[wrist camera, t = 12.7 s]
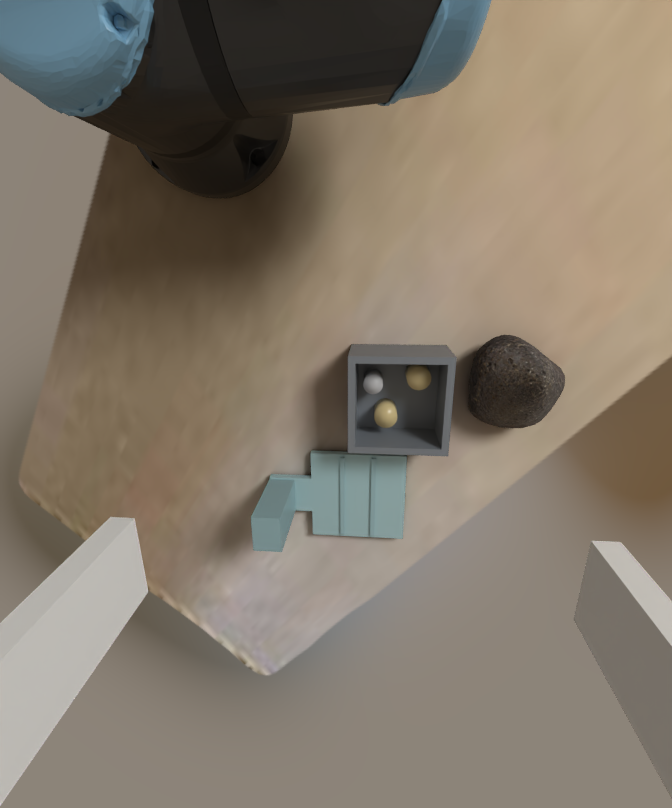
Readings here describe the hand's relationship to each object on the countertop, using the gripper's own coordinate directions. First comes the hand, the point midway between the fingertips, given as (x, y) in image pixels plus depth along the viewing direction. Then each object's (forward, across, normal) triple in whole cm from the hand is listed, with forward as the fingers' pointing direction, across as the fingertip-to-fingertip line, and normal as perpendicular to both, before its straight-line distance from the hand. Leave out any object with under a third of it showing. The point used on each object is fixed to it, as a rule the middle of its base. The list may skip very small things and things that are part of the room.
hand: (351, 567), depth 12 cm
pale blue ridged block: (+34, -4, -18) cm, 39 cm away
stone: (+35, +14, -3) cm, 38 cm away
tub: (+35, +3, -5) cm, 35 cm away
